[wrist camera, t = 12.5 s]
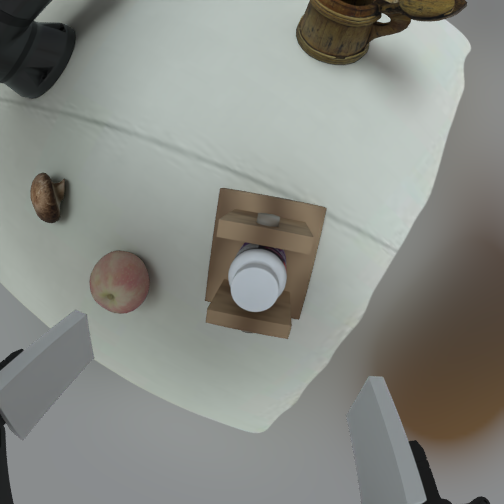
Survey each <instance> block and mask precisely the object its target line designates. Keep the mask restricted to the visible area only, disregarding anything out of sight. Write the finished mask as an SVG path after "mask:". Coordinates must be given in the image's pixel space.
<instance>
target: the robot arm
mask: <svg viewBox="0 0 504 504" xmlns="http://www.w3.org/2000/svg"><path fill="white" fill-rule="evenodd" d="M51 1H52V0H0V83H4V84H6V85H7V86H8V87H10V88H11V89H12V90H14V91H15V92H17V93H18V94H19V95H21V96H23V97H28V98H36V97H38V96H40V95H42V94H43V93H45V92H46V91H47V90H48V89H49V88H50V87H51V86H52V85H53V84H54V82H55V81H56V80H57V79H58V77H59V76H60V74H61V73H62V71H63V70H64V68H65V66H66V64H67V62H68V60H69V58H70V56H71V53H72V51H73V47H74V43H75V32H74V30H73V29H72V28H71V27H69V26H67V25H66V24H63V23H48V22H35V21H34V19H35V18H36V17H37V16H38V15H39V14H40V13H41V12H42V11H43V9H44V8H45V7H46V6H47V5H48V4H49V3H50V2H51ZM93 359H94V354H93V349H92V344H91V338H90V332H89V326H88V319H87V314H85V313H82V312H80V311H77V310H74V311H73V312H72V313H70V314H69V315H68V316H67V317H65V318H64V319H63V320H61V321H60V322H59V323H57V324H56V325H55V326H54V327H52V328H51V329H50V330H49V331H47V332H46V333H45V334H44V335H42V336H41V337H40V338H39V339H37V340H36V341H35V342H34V343H32V344H31V345H30V346H29V347H28V348H26V349H25V350H23V349H20V350H18V351H15V352H13V353H11V354H10V355H9V356H8V357H7V358H6V359H5V360H3V361H2V362H1V363H0V504H14V503H13V499H12V494H11V488H10V482H9V475H8V466H7V456H6V439H5V428H4V426H3V425H4V424H5V423H6V424H7V425H8V427H9V428H10V430H11V431H12V432H13V433H14V434H15V435H17V436H18V437H19V438H20V439H21V440H24V439H25V438H26V436H27V435H28V434H29V433H30V431H31V430H32V429H33V427H34V426H35V425H36V424H37V423H38V422H39V420H40V419H41V418H42V417H43V416H44V414H45V413H46V412H47V411H48V410H49V409H50V407H51V406H52V405H53V404H54V403H55V401H56V400H57V399H58V398H59V397H60V396H61V395H62V393H63V392H64V391H65V390H66V389H67V388H68V387H69V385H70V384H71V383H72V382H73V381H74V380H75V379H76V378H77V376H78V375H79V374H80V373H81V372H82V371H83V370H84V369H85V368H86V366H87V365H88V364H89V363H90V362H91V361H92V360H93ZM346 417H347V422H348V427H349V432H350V437H351V442H352V448H353V453H354V459H355V465H356V470H357V476H358V483H359V490H360V496H361V504H452V503H451V502H450V501H448V500H447V499H441V497H440V495H439V493H438V490H437V487H436V484H435V480H434V478H433V475H432V472H431V469H430V468H429V463H428V461H427V460H426V458H427V457H426V455H425V452H424V449H423V448H422V447H421V446H420V444H419V443H418V442H417V441H416V440H415V441H408V439H407V436H406V434H405V431H404V428H403V426H402V423H401V420H400V418H399V415H398V413H397V410H396V407H395V405H394V402H393V400H392V397H391V395H390V392H389V390H388V388H387V385H386V383H385V380H384V378H383V377H375V376H368V378H367V380H366V382H365V384H364V386H363V387H362V389H361V391H360V393H359V395H358V396H357V398H356V400H355V401H354V403H353V405H352V406H351V408H350V410H349V412H348V413H347V415H346ZM468 504H490V502H489V501H488V500H487V499H486V498H485V497H477V498H476V499H474V500H473V501H471V502H470V503H468Z"/></svg>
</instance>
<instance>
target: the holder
mask: <svg viewBox="0 0 504 504" xmlns="http://www.w3.org/2000/svg"><path fill="white" fill-rule="evenodd" d="M325 213H326V208H325V207H322V206H317V205H313V204H308V203H303V202H298V201H293V200H288V199H283V198H278V197H273V196H268V195H262V194H256V193H251V192H245V191H239V190H233V189H227V188H220V193H219V199H218V206H217V213H216V220H215V226H214V234H213V241H212V248H211V256H210V264H209V272H208V280H207V288H206V297H205V301H208V302H211V303H210V305H209V307H208V309H207V316H206V323H211V324H215V325H219V326H224V327H228V328H233V329H238V330H241V331H243V332H246V333H258V334H263V335H268V336H274V337H280V338H285V339H288V337H289V333H290V330H291V326H292V324H291V318H293V319H299V318H300V314H301V311H302V307H303V303H304V300H305V296H306V292H307V289H308V285H309V281H310V277H311V273H312V269H313V265H314V261H315V257H316V253H317V249H318V244H319V240H320V236H321V231H322V227H323V222H324V218H325ZM245 242H247V243H252V244H258V245H263V246H268V247H273V248H278V249H283V250H284V251H285V255H286V270H287V280H286V285H285V288H284V290H283V292H282V293H281V295H280V296H279V297H278V298H277V300H276V302H275V303H274V304H273V305H272V306H271V307H270V308H268V309H267V310H264V311H261V312H251V311H247V310H245V309H243V308H241V307H240V306H238V305H237V304H236V302H235V301H234V300H233V297H232V295H231V287H230V285H229V280H228V273H229V269H230V266H231V264H232V262H233V260H234V258H235V257H236V255H237V253H238V252H239V250H240V248H241V247H242V245H243V244H244V243H245Z"/></svg>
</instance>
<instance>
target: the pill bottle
mask: <svg viewBox="0 0 504 504" xmlns="http://www.w3.org/2000/svg"><path fill="white" fill-rule="evenodd" d="M228 280H229V285H230V287H231V295H232V297H233V300H234V301H235V302H236V304H237V305H238V306H240V307H241V308H243V309H245V310H247V311H251V312H261V311H264V310H267V309H268V308H270V307H271V306H272V305H273V304H274V303H275V302H276V300H277V298H278V297H279V296H280V295H281V293H282V292H283V290H284V288H285V285H286V280H287V270H286V255H285V251H284V250H283V249H278V248H273V247H268V246H263V245H258V244H252V243H247V242H245V243H244V244H243V245H242V247H241V248H240V250H239V252H238V253H237V255H236V257H235V258H234V260H233V262H232V264H231V266H230V269H229V273H228Z"/></svg>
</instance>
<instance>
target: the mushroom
mask: <svg viewBox="0 0 504 504" xmlns="http://www.w3.org/2000/svg"><path fill="white" fill-rule="evenodd" d="M64 191H65V179H63V180H62V181H60V182H59V183H54V182H52V181H51V179H50V177H49V176H48V175H47V174H46V173H40V174H38V175H37V176H36V177H35V178H34V180H33V182H32V186H31V191H30V192H31V201H32V204H33V206H34V209H35V211H36V213H37V215H38V216H39V218H40V219H41V220H43V221H45V222H48V223H54V222H56V221H58V220H59V218H60V203H61V201H62V200H63V199H64Z"/></svg>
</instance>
